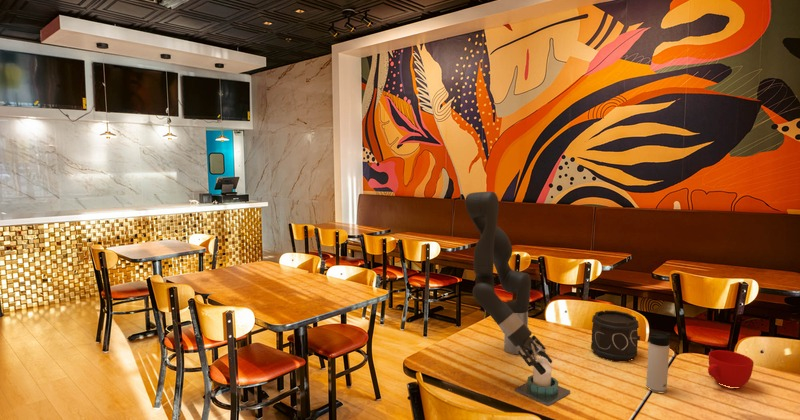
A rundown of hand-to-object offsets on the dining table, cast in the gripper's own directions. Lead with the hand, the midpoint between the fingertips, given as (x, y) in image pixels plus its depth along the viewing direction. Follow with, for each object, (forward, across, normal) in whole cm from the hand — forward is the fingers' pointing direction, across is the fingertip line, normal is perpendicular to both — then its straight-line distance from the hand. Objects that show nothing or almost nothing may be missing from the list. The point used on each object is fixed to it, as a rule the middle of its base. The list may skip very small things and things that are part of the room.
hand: (547, 368), depth 163 cm
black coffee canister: (+18, +47, -5) cm, 50 cm away
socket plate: (+5, 0, +7) cm, 9 cm away
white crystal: (+5, 0, +7) cm, 8 cm away
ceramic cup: (+44, +37, -31) cm, 65 cm away
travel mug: (+29, +22, -16) cm, 40 cm away
